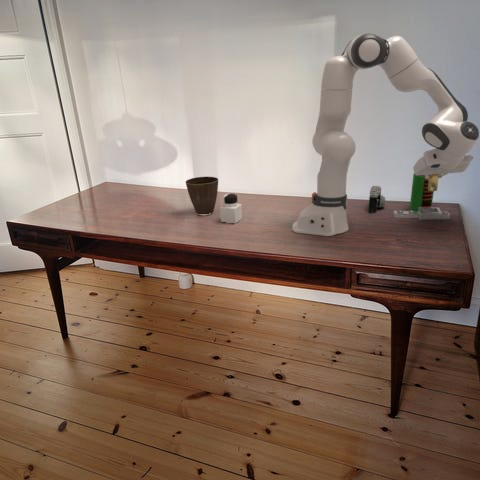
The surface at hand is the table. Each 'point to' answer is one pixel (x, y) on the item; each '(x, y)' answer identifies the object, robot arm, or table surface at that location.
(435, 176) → the link pin
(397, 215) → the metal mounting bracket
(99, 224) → the table surface
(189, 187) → the plant pot
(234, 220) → the medicine bottle
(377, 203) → the camera
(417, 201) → the motor
